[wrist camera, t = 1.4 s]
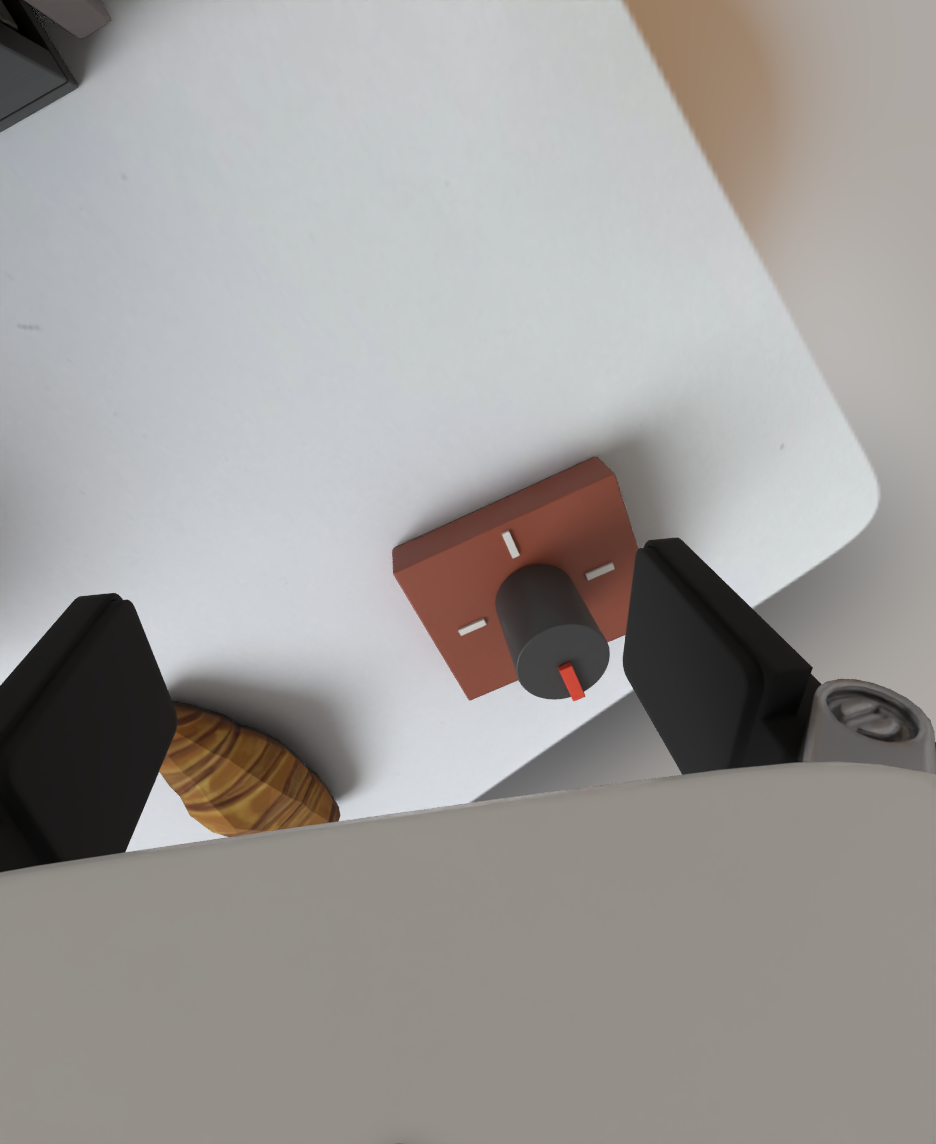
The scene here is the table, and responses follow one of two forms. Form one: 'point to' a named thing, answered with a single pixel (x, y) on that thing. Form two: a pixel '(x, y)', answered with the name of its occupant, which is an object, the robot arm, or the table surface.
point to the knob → (550, 633)
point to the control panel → (519, 567)
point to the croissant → (241, 777)
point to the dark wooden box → (28, 67)
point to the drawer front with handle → (66, 15)
